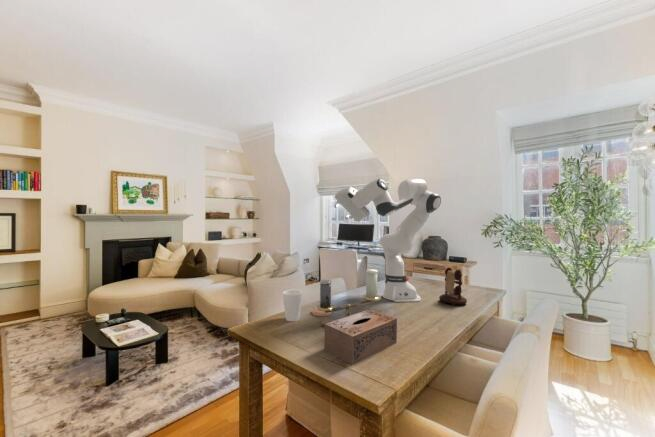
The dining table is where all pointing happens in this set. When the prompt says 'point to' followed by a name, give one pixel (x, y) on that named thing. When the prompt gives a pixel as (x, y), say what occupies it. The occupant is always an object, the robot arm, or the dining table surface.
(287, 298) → the foam cup
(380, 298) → the balance
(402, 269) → the robot arm
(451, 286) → the brown wooden figurine
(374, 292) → the light tin
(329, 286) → the tin
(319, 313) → the dish
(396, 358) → the dining table surface
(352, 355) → the tissue box cover
